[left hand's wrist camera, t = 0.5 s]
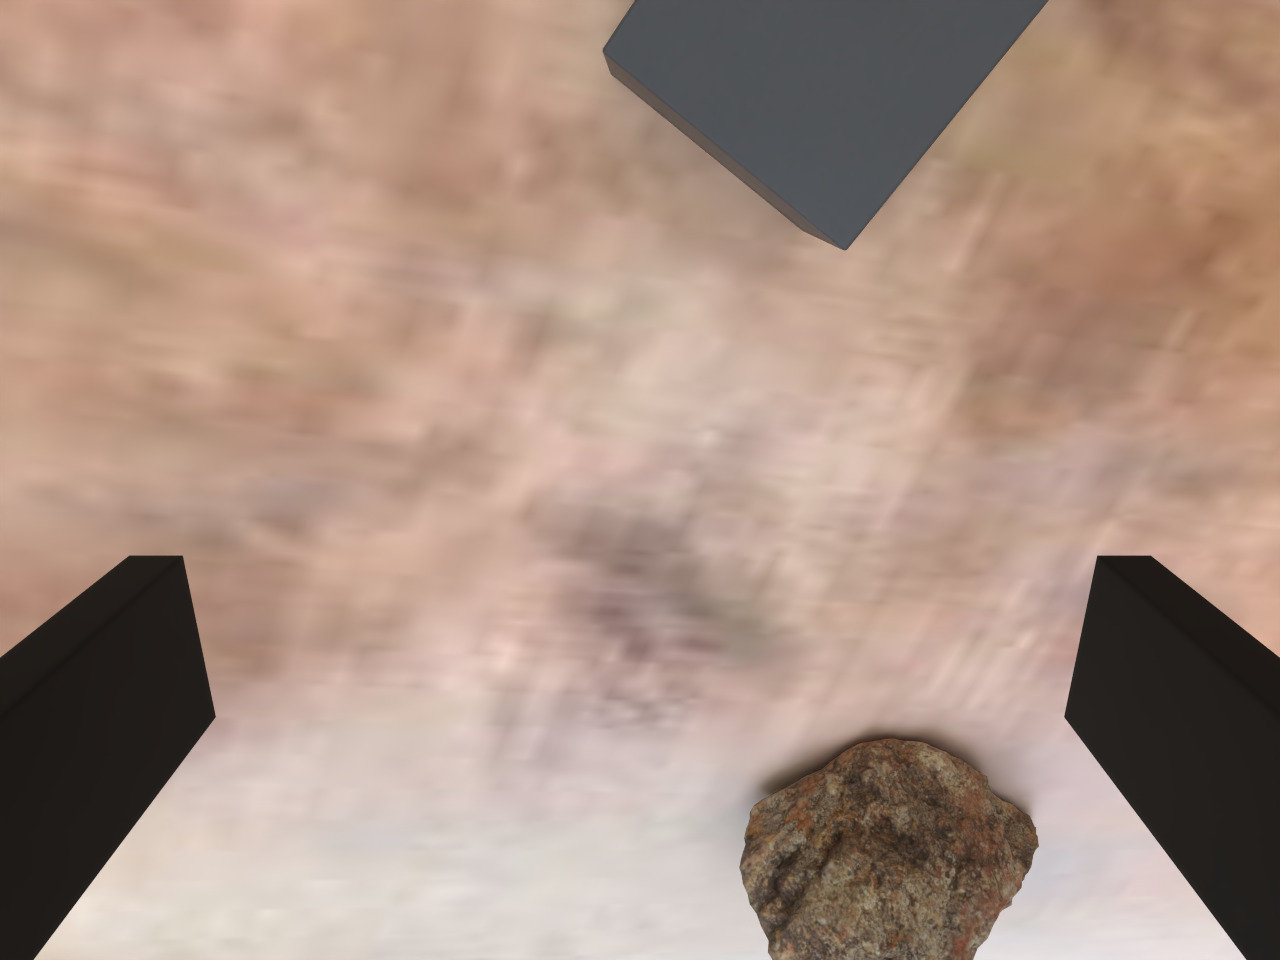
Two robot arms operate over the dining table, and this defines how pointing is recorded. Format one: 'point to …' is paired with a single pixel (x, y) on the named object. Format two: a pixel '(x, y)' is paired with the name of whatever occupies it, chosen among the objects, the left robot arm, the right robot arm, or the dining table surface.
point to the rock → (884, 857)
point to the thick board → (814, 89)
